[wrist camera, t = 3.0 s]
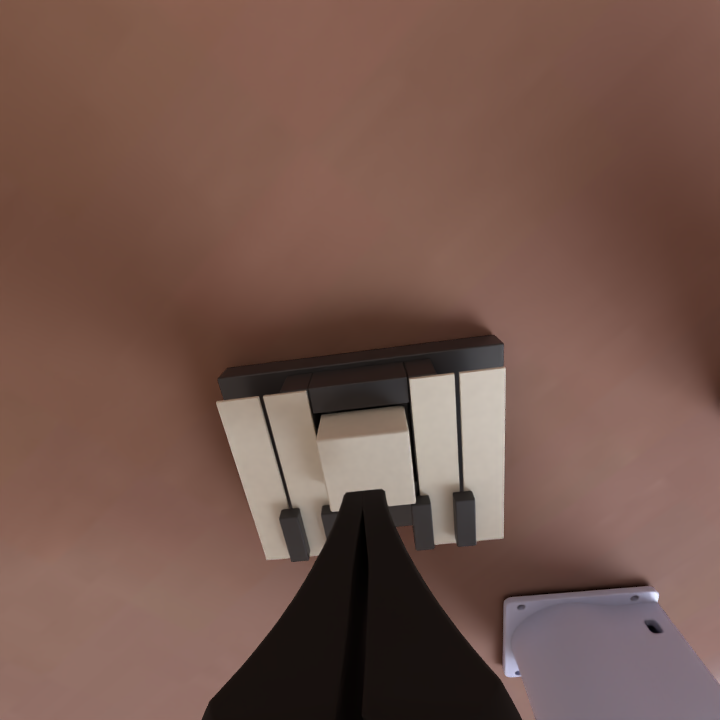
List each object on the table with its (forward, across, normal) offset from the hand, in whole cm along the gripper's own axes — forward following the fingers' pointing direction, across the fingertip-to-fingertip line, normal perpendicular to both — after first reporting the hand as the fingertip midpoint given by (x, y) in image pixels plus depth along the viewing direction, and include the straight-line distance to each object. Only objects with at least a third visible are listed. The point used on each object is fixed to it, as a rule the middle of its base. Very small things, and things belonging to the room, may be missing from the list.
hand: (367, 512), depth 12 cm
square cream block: (+4, 0, 0) cm, 4 cm away
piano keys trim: (+4, 0, +1) cm, 4 cm away
